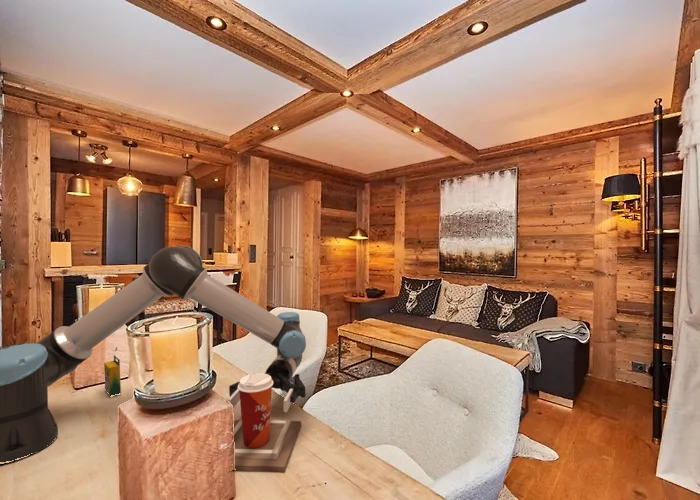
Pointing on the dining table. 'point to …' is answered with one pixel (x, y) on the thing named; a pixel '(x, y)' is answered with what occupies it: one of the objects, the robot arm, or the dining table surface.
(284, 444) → the walnut board
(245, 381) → the coffee cup
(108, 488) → the dining table surface
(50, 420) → the robot arm
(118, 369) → the crayon box
